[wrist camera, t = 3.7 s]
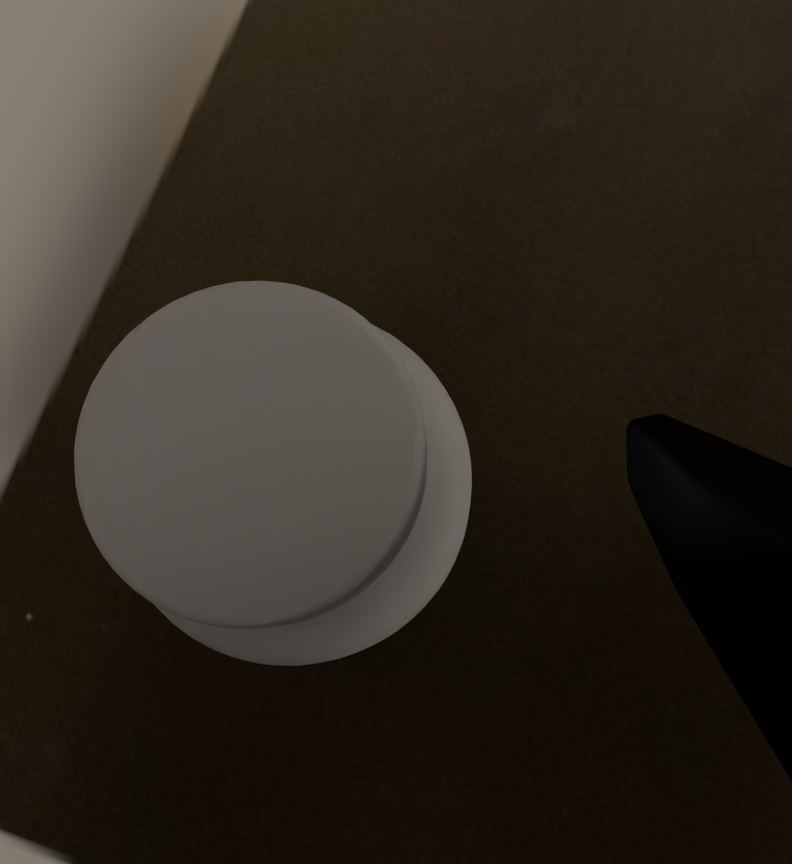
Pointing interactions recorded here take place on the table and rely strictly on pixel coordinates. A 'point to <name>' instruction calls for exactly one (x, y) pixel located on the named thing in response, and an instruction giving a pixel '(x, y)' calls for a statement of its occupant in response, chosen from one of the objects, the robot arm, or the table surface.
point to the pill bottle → (273, 473)
